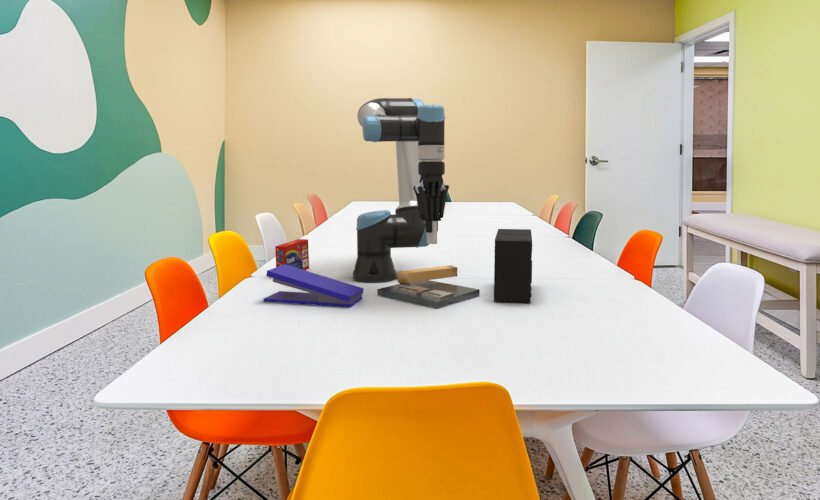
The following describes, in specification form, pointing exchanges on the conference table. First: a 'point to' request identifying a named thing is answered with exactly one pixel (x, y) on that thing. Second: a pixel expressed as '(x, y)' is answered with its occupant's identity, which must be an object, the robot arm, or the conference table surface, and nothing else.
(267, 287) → the conference table surface
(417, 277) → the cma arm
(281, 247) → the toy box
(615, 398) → the conference table surface
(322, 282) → the stapler
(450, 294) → the server board
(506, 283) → the speaker
